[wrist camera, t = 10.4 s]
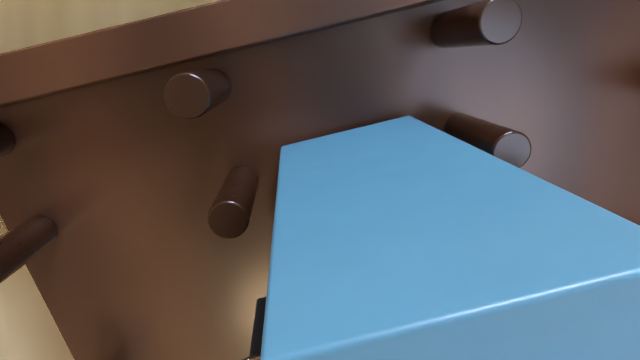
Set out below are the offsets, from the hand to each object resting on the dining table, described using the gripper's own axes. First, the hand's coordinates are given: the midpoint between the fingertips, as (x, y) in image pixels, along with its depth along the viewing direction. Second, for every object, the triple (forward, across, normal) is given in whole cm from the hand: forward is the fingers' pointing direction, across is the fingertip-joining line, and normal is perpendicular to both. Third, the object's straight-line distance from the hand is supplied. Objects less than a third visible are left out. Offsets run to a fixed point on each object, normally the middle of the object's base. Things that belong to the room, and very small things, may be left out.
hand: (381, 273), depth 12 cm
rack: (+3, 0, 0) cm, 3 cm away
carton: (+2, 0, 0) cm, 2 cm away
